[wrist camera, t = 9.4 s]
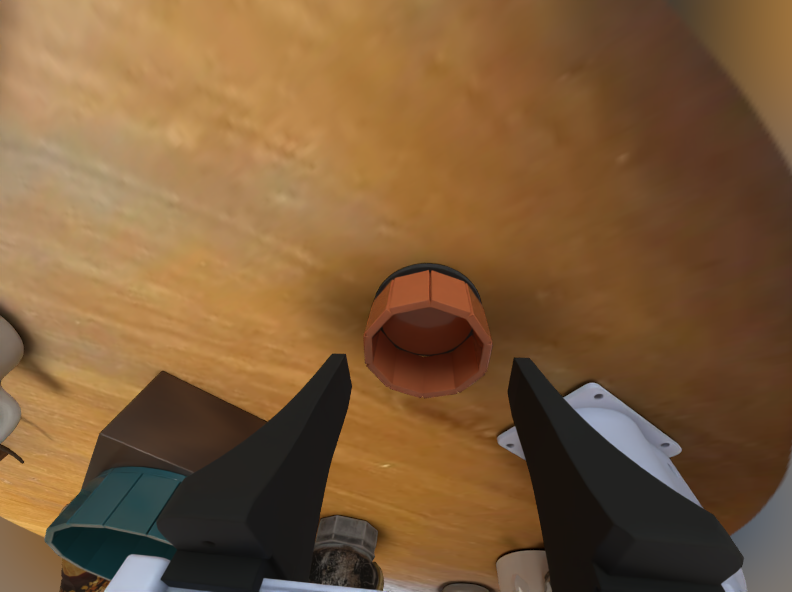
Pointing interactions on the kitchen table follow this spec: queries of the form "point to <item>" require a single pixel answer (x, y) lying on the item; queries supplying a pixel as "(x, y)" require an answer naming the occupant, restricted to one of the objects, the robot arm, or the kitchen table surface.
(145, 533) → the big bowl
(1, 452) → the figurine
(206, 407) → the stand
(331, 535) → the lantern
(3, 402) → the cup
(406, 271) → the coaster
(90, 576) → the ice cream cone
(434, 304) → the small bowl
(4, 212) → the kitchen table surface
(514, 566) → the cup
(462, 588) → the can
